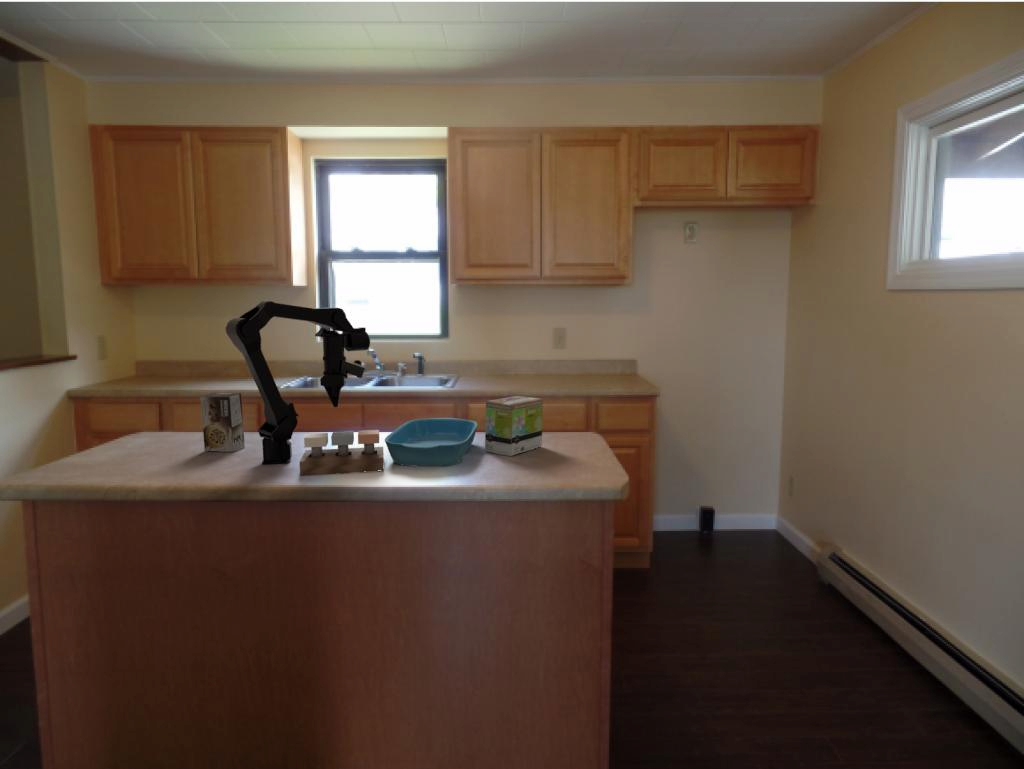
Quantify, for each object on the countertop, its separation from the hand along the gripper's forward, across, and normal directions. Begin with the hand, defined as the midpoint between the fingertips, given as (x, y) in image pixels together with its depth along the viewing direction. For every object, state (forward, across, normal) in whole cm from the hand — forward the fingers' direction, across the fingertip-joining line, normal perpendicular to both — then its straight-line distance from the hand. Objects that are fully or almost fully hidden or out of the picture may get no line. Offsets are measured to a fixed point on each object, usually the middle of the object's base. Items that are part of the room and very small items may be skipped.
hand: (335, 406), depth 175 cm
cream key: (+10, -20, +4) cm, 23 cm away
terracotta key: (+10, -20, -9) cm, 24 cm away
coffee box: (+13, +7, +32) cm, 35 cm away
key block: (+12, -20, -3) cm, 24 cm away
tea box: (+13, -10, -50) cm, 53 cm away
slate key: (+10, -20, -3) cm, 22 cm away
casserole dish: (+13, -10, -27) cm, 32 cm away
